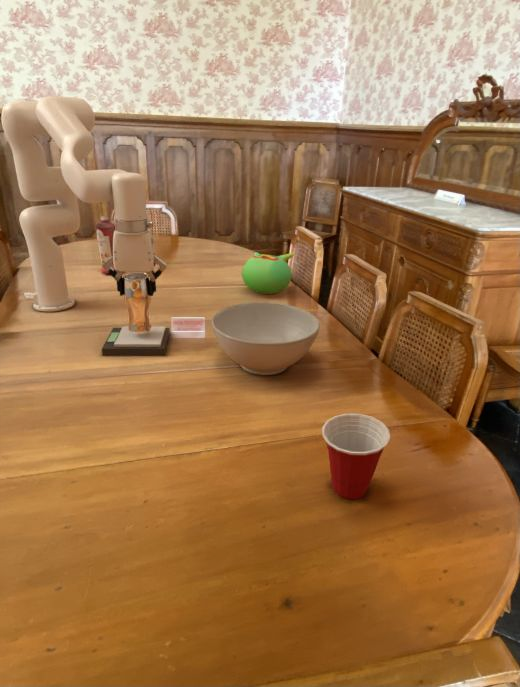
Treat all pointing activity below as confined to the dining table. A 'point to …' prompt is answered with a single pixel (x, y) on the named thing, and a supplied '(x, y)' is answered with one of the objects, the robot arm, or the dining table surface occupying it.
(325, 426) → the plastic cup
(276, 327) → the decorative bowl
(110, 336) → the scale
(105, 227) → the liquor
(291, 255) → the green round pot
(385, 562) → the dining table surface
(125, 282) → the beer glass
